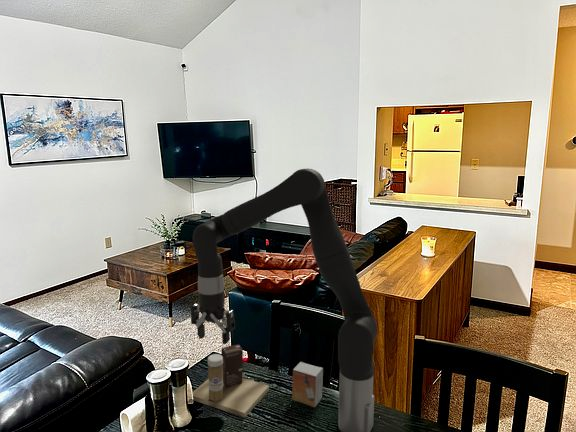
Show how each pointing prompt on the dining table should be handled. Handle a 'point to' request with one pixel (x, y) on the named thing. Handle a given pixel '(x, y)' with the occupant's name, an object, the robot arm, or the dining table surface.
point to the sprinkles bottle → (215, 377)
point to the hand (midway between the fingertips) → (213, 340)
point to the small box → (307, 384)
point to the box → (232, 365)
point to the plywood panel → (234, 396)
